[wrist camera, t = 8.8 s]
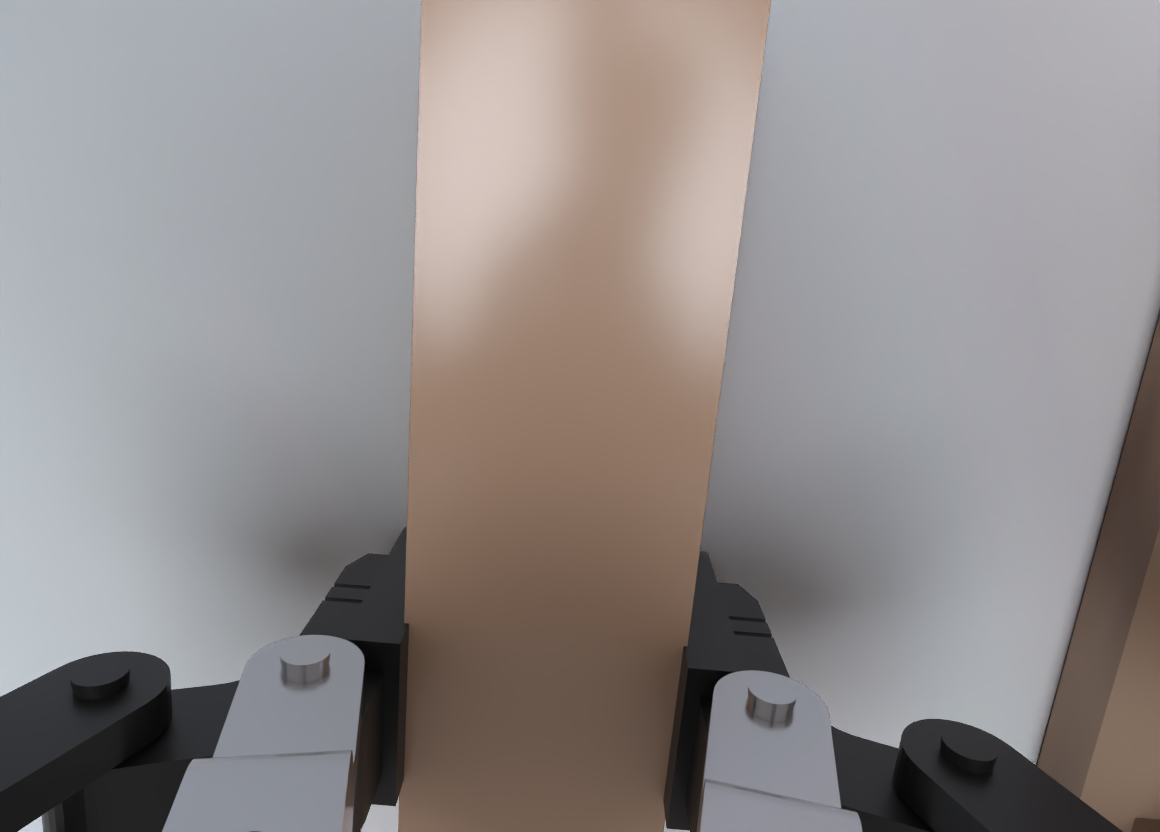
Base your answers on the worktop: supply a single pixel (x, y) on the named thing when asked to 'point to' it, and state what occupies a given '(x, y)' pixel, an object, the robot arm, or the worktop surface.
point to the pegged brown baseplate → (1118, 643)
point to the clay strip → (565, 395)
